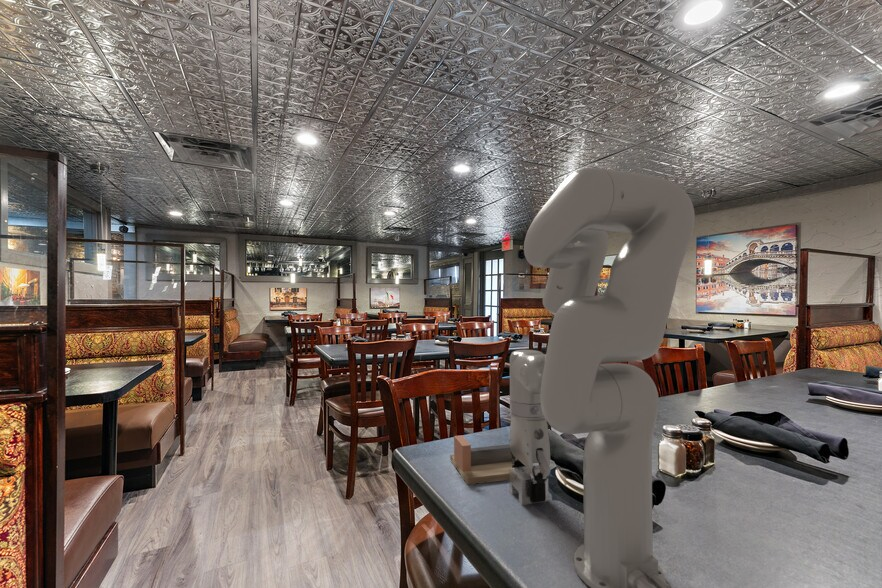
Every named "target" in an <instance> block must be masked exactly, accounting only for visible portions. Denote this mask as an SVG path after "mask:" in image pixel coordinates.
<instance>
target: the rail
mask: <svg viewBox="0 0 882 588" xmlns="http://www.w3.org/2000/svg"><path fill="white" fill-rule="evenodd" d="M511 460H512V454H511V449H510V443H509V444H501V445H500V444H499V445H491V446H481V447H479V446H478V447H471V466H476V465H485V464H494V463H502V462H511Z"/></svg>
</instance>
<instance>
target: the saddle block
mask: <svg viewBox="0 0 882 588" xmlns="http://www.w3.org/2000/svg"><path fill="white" fill-rule="evenodd" d="M534 465H535V464H533V466H534ZM534 471H535V475H537V474H538V473H540V470H539V469H536V470H534ZM508 481H509V482H508V483H509V485H508V487H509V492H510V494H511V495H516V494H518V503H519V504H520V506H524V505H533V504H538V503H545V502H549V478H548V479H547V482H545V492H546V499H545V501H542V502H535V503H532V502H531V501H530V482H532V479H531V475H530V470H529V468H528V467H526V466H524V467H515V468H509V480H508Z"/></svg>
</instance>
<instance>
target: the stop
mask: <svg viewBox="0 0 882 588" xmlns="http://www.w3.org/2000/svg"><path fill="white" fill-rule="evenodd" d="M471 445H472V444H471V443H469V441H467V439H466V438H465V437H464V436H463V435H454V436H453V446H454V447H453V449H454V451H453V452H454V460H455V462H456V463H457V465H458V466H459V467H460V469H461V470H462V471H463V472H465V471H471V448H472V446H471Z"/></svg>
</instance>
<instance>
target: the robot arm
mask: <svg viewBox="0 0 882 588" xmlns="http://www.w3.org/2000/svg"><path fill="white" fill-rule="evenodd" d="M695 216H696V214H695V209H694V204H693V201H692V200H691V198H690V196H689V194H688V193H687V192H686V191H685V190H684V189H683V187H681V186H680V185H678V184H677V183H675V182H673V181H671V180H668V179H667V178H662V177H660V176H655V175H649V174H645V173H638V172H630V171H618V170H612V169H605V168H598V167H597V168H596V167H588V168H587V167H586V168H581V169H579V170H575V172H572V173H571V174H570V175H568V176H567V177H566V178H565V179H564V180H563V181H562V183H560V185H559V186H558V188H557V189H556V190H555V191H554V192H553V193H552V195H551V196H550V197H549V199H548V200H547V201H546V203H544V205H543V206H542V207H541V208H540V210H539V211H538V213H537V214H536V216H535V217H534V218H533V220H532V222H531V223H530V224H529V225H530V226H529V227H528V228H527V229H528V230H527V232H526V234H525V238H524V243H523V254H524V257H525V259H526V261H527V263H529V265H530V266H533V267H534V268H541V269H549V272H548V275H547V276H548V277H547V280H546V284H545V289H544V292H543V297H542V305H543V307H544V309H545V310H547V312H549V314H552V315H553V316H554V317H553V319H552V321H551V327H550V330H549V335H548V340H547V341H548V343H547V347H546V353H543V352H542V351H540V350H534V349H517V350H514V351H512V352H511V354H510V356H509V416H510V428H509V430H510V431H509V432H510V433H509V441H508V442H509V444H510V449H511V454H512V460H511V462H512V464H514V465H512V468H515V467H524V466H526V467H528V468H529V470H530V475H531V479H532V482H530V501H531V502H532V503H533V504H536V503H535V502H540V503H543V502H542V501H545V499H546V492H545V482H547V479H548V480H549V475H550V474H551V471H552V470H551V467H550V466H551V449H550V448H551V447H550V441H549V433H548V426H547V422H548V424H549V425H550V426H551V429H553V430H555V431H557V432H559V433H562V434H566V435H577V434H578V435H579V434H587V436H586V439H585V443H584V447H583V457H582V458H583V459H582V460H583V461H582V462H583V465H582V466H583V467H582V468H583V469H582V472H583V473H582V474H583V475H582V476H583V481H582V482H583V484H582V485H583V543H582V544H581V545H579V546H578V547H577V548H576V549H575V551H574V554H573V567H574V570H575V571H576V574H577V575H578V576H579V578H580V579H581V580H582V581H583V583H585V585H587V586H588V587H589V588H672V585H670V584H668V583H667V580H666V576H665V573H664V571H663V570H662V568H661V567H660V566H659V560H658V559H657V558H655V557H654V542H653V541H654V539H653V538H654V537H653V536H654V534H653V532H654V531H653V525H654V524H653V442H654V432H655V428H656V424H657V418H658V413H659V403H660V399H659V398H660V397H659V392H658V389H657V386H656V384H655V382H654V380H653V378H652V377H651V376H650V375H649V374H648V373H647V372H646V371H645V370H643V369H642V368H640V367H638V366H636V365H632V364H629V363H625V362H635V361H642V360H646V359H649V358H651V357H652V356H654V355H655V354H657V352H658V350H659V349H660V347H661V344H662V343H663V339H664V337H665V332H666V328H667V324H668V320H669V315H670V312H671V307H672V304H673V301H674V300H673V299H674V296H675V292H676V286H677V281H678V278H679V274H680V270H681V267H682V264H683V262H684V258H685V256H686V254H687V251H688V248H689V245H690V243H691V241H692V237H693V233H694V229H695V219H696V218H695ZM607 232H617V233H619V232H620V233H628V234H630V235H631V237H630V238H629V239H628V240H627V241H626V243H624V244H623V246H622V247H621V249H619V251H618V253H617V254H616V255H615V258H614V259H613V262H612V265H611V267H610V271H609V277H608V278H609V279H608V282H607V285H606V289H605V291H604V293H603V294H601V295H596V292H597V288H598V284H599V281H600V277H601V274H602V271H603V267H604V263H605V259H606V256H607V253H608V248H609V244H610V238H609V234H608V233H607ZM534 464H538V465H535V466H533V465H534ZM536 469H539V470H540V473H538V474H537V475H535V471H534V470H536Z"/></svg>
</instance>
